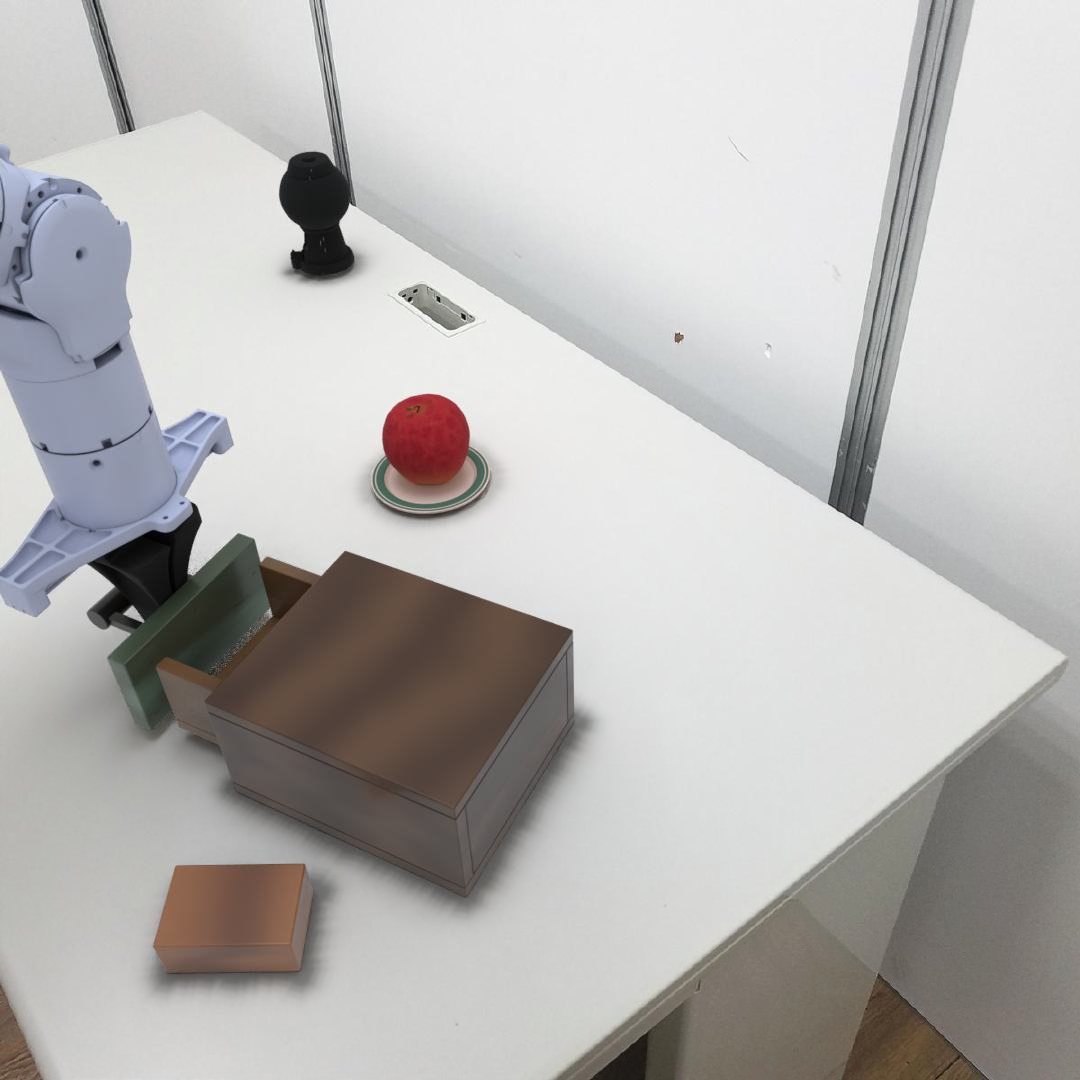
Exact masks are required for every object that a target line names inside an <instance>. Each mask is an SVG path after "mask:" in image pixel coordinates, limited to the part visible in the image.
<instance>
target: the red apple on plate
mask: <svg viewBox="0 0 1080 1080" xmlns="http://www.w3.org/2000/svg"><path fill="white" fill-rule="evenodd" d="M381 437H382V438H381V442H382V449H383V452H384V455H383V456H381V457H380V458H379V459H378V461H377V462H376V463H375V465H374V466H373V468H372V471H371V474H370V484H371V488H372V490H373V493H374V494H375V496H376V497H377V498H378V499H379V500H380V501H381V502H382V503H383V504H385V505H387V506H388V507H390V508H392V509H395V510H398V511H401V512H403V513H404V512H405V513H410V514H416V515H417V514H418V515H430V514H432V515H433V514H439V513H445V512H449V511H453V510H455V509H458V508H461V507H463V506H465V505H467V504H469V503H470V502H472V501H474V500H475V499H476V498H478V496H480V495H481V494H482V493H483V491H484V490H485V489H486V487H487V485H488V483H489V481H490V478H491V477H490V475H491V467H490V464H489V461H488V459H487V457H486V456H485V455H484V454H483V453H482V452H481V451H480V450H479V449H477V448H476V447H474V446H473V445H470V442H471V441H470V439H471V432H470V426H469V423H468V420H467V417H466V415H465V414H464V412H463V410H462V409H461V408H460V406H459V405H458V404H457V403H456V402H454V401H453V400H451V398H448V397H446V396H443V395H441V394H435V393H422V394H417V395H412V396H411V395H410V396H408V397H406V398H404V399H402V400H400V401H399V402H397V403H396V404H395V405H394V406H393V407H392V408H391V410H390V411H389V412H388V413H387V414H386V417H385V419H384V423H383V426H382V435H381Z"/></svg>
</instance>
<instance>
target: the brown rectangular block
mask: <svg viewBox="0 0 1080 1080" xmlns="http://www.w3.org/2000/svg"><path fill="white" fill-rule="evenodd" d="M314 893H315V892H314V889H313V885H312V882H311V878H310V875H309V872H308V869H307V865H306V864H305V863H252V864H249V863H245V864H244V863H243V864H240V863H239V864H180V865H179V864H178V865H175V866H174V869H173V873H172V876H171V880H170V883H169V888H168V891H167V895H166V898H165V901H164V905H163V908H162V912H161V916H160V919H159V924H158V926H157V931H156V934H155V937H154V941H153V943H152V947H153V949H154V951H155V953H156V955H157V957H158V959H159V961H160V963H161V965H162V966H163V969H164V971H165V973H167V974H179V973H180V974H182V973H185V974H186V973H188V974H189V973H190V974H191V973H258V972H259V973H261V972H263V973H264V972H265V973H268V972H273V973H275V972H276V973H277V972H300V971H301V968H302V961H303V956H304V949H305V944H306V939H307V933H308V927H309V920H310V916H311V909H312V904H313V903H312V902H313V897H314Z"/></svg>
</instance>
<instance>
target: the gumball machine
mask: <svg viewBox="0 0 1080 1080" xmlns="http://www.w3.org/2000/svg"><path fill="white" fill-rule="evenodd" d="M303 149H304V150H306V149H305V147H303ZM278 199H279V203H280V206H281V209H282V210H283V211H284V213H285V214H286V217H288V218H289V219H290V221H291V222H293V223H294V224H296V225H298V226H299V228H300V229H301V231H302V232H303V239H304V240H303V244H302V249H301V250H297V251H296V250H295V249H291V251H290V253H289V255H290V262H291V263H290V264H291V268H292V269H294V270H296V271H302V272H303V273H305V274H308V275H311V276H317V277H318V276H321V277H323V278H324V277H325V276H331V275H336V274H340V273H342V272H345V271H347V270H348V269H349V268H351V267H352V266H353V264H354V263H355V254H354V251H353V250H352V247H350V246H349V245H347V244H346V240H345V237H344V235H343V231H342V229H341V226H340V223H341V220H342V219H343V218H344V216H345V215H346V214H347V212H348V210H349V207H350V203H351V202H350V200H351V189H350V184H349V182H348V180H347V177H346V176H345V175H344V174H343V172H342V171H341V170H340V169H339V168H338V166H336V165H334V163H333V162H332V160H331V158H330V157H329V156H328V155H327V153H324V152H320V151H313V150H312V151H303V152H300V153H297V154H295V155H293V156H291V157H290V159H289V160H288V163H287V168H286V171H284V173H283V174H282V177H281V179H280V183H279V188H278Z"/></svg>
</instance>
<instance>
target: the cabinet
mask: <svg viewBox="0 0 1080 1080" xmlns="http://www.w3.org/2000/svg"><path fill="white" fill-rule="evenodd" d="M320 576H321V577H320V578H319V579H318V580H317V581H316V582H315V583H314V584H313V585H312V586H311V587H310V588H309V590H308V591H307V592H306V593H305V594H304V595H303V596H302V597H301V598H300V599H299V600H298V601H297V602H296V603H295V605H294V606H293V607H292V608H291V609H290V610H289V611H288V612H287V613H286V614H285V615H284V616H283V617H282V618H281V619H280V621H279V622H278V623H277V624H276V625H275V626H274V627H273V628H272V629H271V630H270V631H269V632H268V633H267V634H266V635H265V637H264V638H263V639H262V640H261V641H260V642H259V643H258V644H257V645H256V646H255V647H254V648H253V649H252V650H251V652H250V653H249V654H248V655H247V656H246V657H245V658H244V659H243V660H242V661H241V662H240V663H239V664H238V665H237V666H236V668H235V669H234V670H233V671H232V672H231V673H230V674H229V675H228V676H227V677H226V678H225V679H224V680H223V681H222V682H221V684H220V685H219V686H218V687H217V688H216V689H215V690H214V691H213V692H212V693H211V694H210V695H209V696H208V697H207V699H206V700H205V701H204V702H205V705H206V708H207V711H208V714H209V717H210V720H211V723H212V725H213V728H214V731H215V734H216V737H217V739H218V742H219V745H218V746H219V748H220V750H221V751H220V752H221V754H222V756H223V759H224V762H225V765H226V767H227V770H228V773H229V776H230V778H231V781H232V784H233V787H234V790H235V792H237V793H238V794H241V795H244V796H246V797H247V798H250V799H252V800H254V801H256V802H259V803H261V804H263V805H264V806H267V807H269V808H272V809H274V810H275V811H278V812H280V813H282V814H285V815H287V816H289V817H290V818H293V819H295V820H297V821H299V822H302V823H304V824H306V825H309V826H311V827H313V828H314V829H317V830H319V831H321V832H323V833H326V834H328V835H329V836H332V837H334V838H337V839H339V840H341V841H343V842H344V843H347V844H350V845H351V846H354V847H356V848H358V849H361V850H363V851H364V852H367V853H369V854H371V855H373V856H375V857H378V858H380V859H382V860H384V861H385V862H388V863H391V864H393V865H395V866H397V867H400V868H401V869H404V870H406V871H408V872H410V873H413V874H415V875H417V876H419V877H421V878H423V879H425V880H427V881H430V882H432V883H434V884H436V885H439V886H441V887H443V888H445V889H447V890H449V891H451V892H454V893H456V894H458V895H460V896H462V897H465V898H467V897H468V896H469V894H470V892H471V891H472V890H473V888H474V886H475V884H476V883H477V881H478V879H479V878H480V876H481V875H482V873H483V871H484V869H485V868H486V866H487V865H488V863H489V861H490V860H491V859H492V857H493V855H494V853H495V851H496V850H497V848H498V847H499V845H500V843H501V842H502V841H503V839H504V837H505V836H506V833H507V832H508V830H509V829H510V827H511V825H512V824H513V822H514V820H515V819H516V818H517V816H518V814H519V812H520V811H521V810H522V807H523V806H524V804H525V803H526V801H527V800H528V798H529V796H530V795H531V793H532V791H533V790H534V788H535V786H536V785H537V783H538V782H539V780H540V778H541V777H542V775H543V773H544V772H545V770H546V768H547V767H548V765H549V764H550V762H551V760H552V759H553V757H554V756H555V754H556V752H557V751H558V749H559V747H560V745H561V744H562V743H563V741H564V739H565V737H566V736H567V734H568V733H569V731H570V729H571V728H572V726H573V724H574V723H575V668H574V667H575V664H574V663H575V660H574V659H575V657H574V655H575V653H574V630H573V629H572V628H570V627H569V628H568V627H566V626H563V625H561V624H557V623H554V622H552V621H549V620H546V619H543V618H540V617H537V616H534V615H531V614H529V613H526V612H523V611H520V610H517V609H514V608H511V607H508V606H506V605H502V604H500V603H498V602H494V601H491V600H488V599H486V598H482V597H479V596H477V595H474V594H472V593H468V592H465V591H463V590H460V589H457V588H454V587H451V586H448V585H445V584H443V583H439V582H437V581H433V580H432V579H428V578H426V577H423V576H419V575H416V574H414V573H412V572H411V573H410V572H408V571H405V570H402V569H400V568H396V567H393V566H391V565H388V564H385V563H382V562H379V561H376V560H374V559H370V558H367V557H365V556H362V555H359V554H357V553H354V552H351V551H348V550H343V552H342V553H341V554H340V555H339V556H338V557H337V558H336V560H335V561H334V562H333V563H332V564H331V565H330V566H329V567H328V568H327V569H326V570H325V571H324V573H322V574H321V575H320Z"/></svg>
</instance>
